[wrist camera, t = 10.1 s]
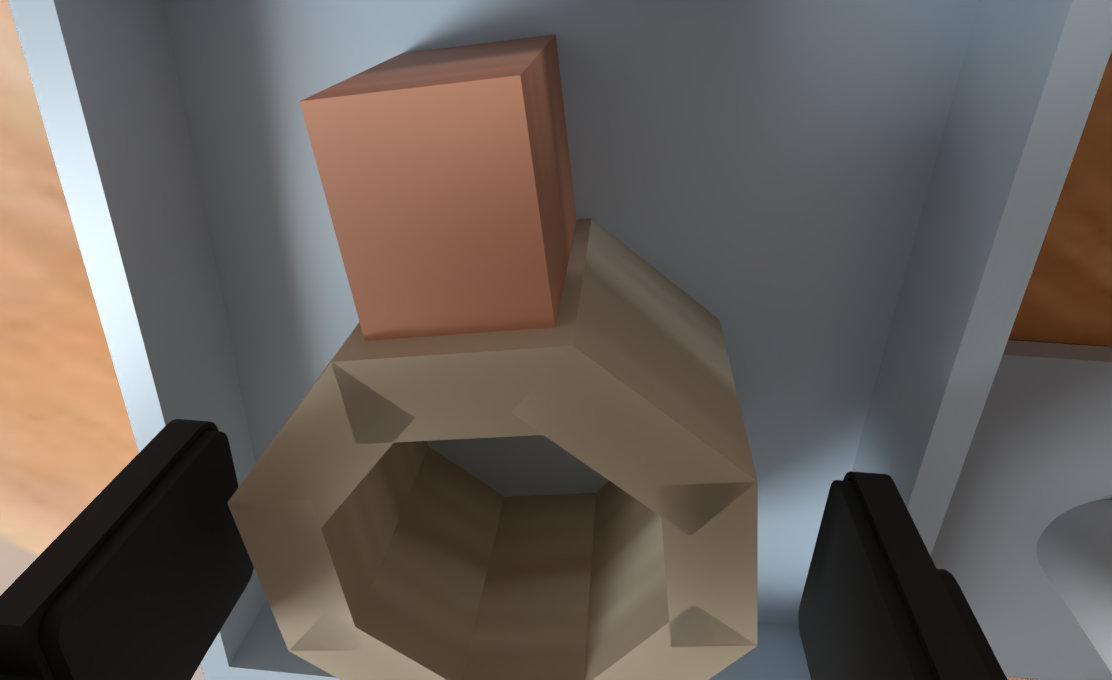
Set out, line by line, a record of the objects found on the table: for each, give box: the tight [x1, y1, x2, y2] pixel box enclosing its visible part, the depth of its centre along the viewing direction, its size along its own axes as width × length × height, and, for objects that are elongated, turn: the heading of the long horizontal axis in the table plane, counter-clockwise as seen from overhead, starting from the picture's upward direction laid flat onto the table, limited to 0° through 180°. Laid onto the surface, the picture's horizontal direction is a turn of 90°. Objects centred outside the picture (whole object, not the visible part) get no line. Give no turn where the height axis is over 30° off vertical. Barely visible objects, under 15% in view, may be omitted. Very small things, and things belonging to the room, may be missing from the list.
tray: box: [8, 0, 1112, 680], centre depth 13 cm, size 14×13×3 cm
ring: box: [227, 34, 758, 680], centre depth 12 cm, size 10×7×4 cm
